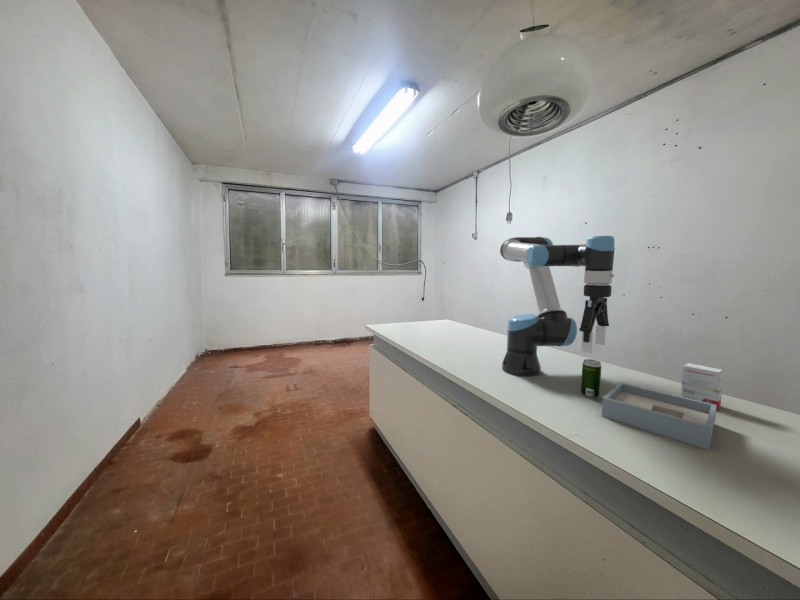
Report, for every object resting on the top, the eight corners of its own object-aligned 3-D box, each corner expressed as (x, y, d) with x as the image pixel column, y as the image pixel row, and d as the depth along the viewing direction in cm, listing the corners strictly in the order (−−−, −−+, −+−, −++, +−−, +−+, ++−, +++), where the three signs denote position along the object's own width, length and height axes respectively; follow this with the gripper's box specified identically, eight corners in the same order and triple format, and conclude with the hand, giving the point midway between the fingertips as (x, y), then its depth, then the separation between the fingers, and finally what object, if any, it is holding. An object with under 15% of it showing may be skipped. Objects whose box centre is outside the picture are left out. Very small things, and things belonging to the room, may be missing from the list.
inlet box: (601, 415, 88) (602, 397, 87) (618, 398, 99) (620, 382, 99) (708, 450, 71) (711, 428, 71) (714, 424, 83) (716, 405, 82)
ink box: (721, 406, 93) (725, 369, 92) (717, 410, 91) (721, 372, 89) (684, 396, 101) (687, 362, 99) (679, 400, 98) (682, 365, 97)
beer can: (600, 400, 98) (603, 364, 97) (581, 397, 100) (584, 362, 99) (597, 394, 103) (599, 360, 101) (579, 391, 105) (581, 358, 104)
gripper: (599, 286, 86) (594, 358, 89) (621, 283, 103) (617, 343, 105) (570, 285, 92) (566, 352, 94) (596, 282, 108) (592, 339, 111)
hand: (593, 348), depth 100 cm, fingers open, 13 cm apart
